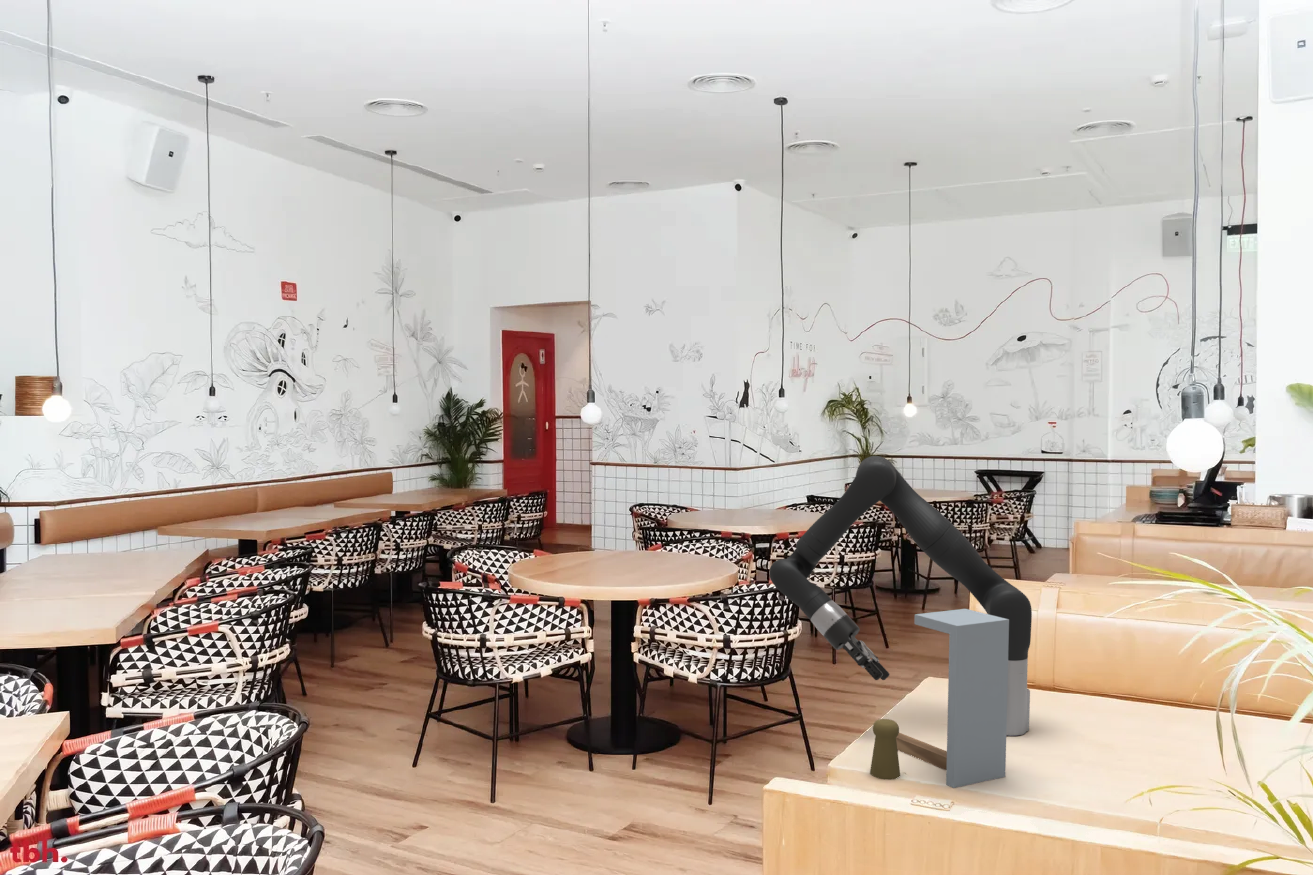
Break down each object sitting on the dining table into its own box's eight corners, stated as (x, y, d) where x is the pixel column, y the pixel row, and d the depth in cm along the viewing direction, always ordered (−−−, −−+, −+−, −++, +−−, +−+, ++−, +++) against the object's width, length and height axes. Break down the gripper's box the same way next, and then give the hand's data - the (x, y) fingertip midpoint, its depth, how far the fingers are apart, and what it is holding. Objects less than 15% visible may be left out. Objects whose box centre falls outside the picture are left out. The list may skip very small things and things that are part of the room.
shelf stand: (962, 758, 222) (965, 608, 221) (1005, 776, 212) (1009, 619, 211) (911, 768, 216) (914, 614, 215) (953, 788, 205) (957, 625, 204)
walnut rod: (889, 741, 234) (889, 728, 234) (964, 772, 215) (964, 758, 215) (879, 743, 232) (879, 730, 232) (953, 775, 213) (953, 760, 213)
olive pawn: (900, 780, 209) (901, 726, 209) (869, 778, 210) (870, 723, 210) (899, 770, 215) (900, 717, 214) (869, 767, 216) (870, 715, 216)
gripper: (839, 612, 238) (890, 666, 232) (852, 615, 251) (900, 666, 244) (816, 634, 239) (865, 689, 232) (830, 636, 252) (877, 688, 245)
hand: (883, 677), depth 238 cm, fingers open, 8 cm apart
